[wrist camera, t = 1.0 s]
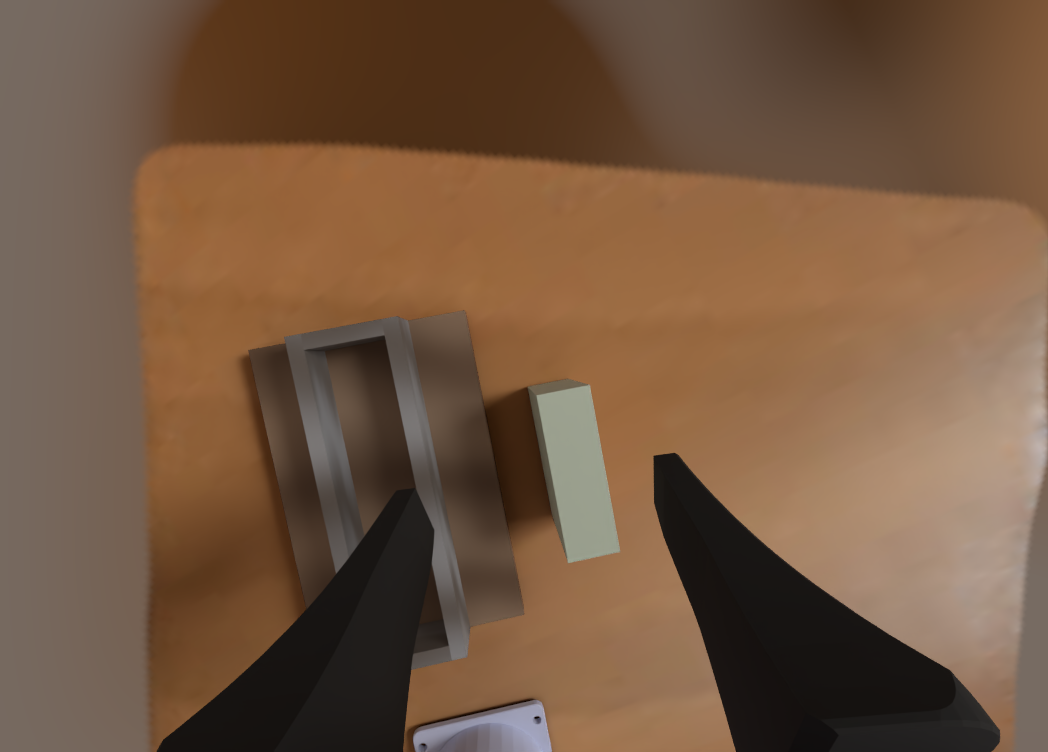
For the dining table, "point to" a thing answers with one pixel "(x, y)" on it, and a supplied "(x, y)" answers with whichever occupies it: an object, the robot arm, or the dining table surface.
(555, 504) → the panel
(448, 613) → the grey metal tray
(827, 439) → the dining table surface
